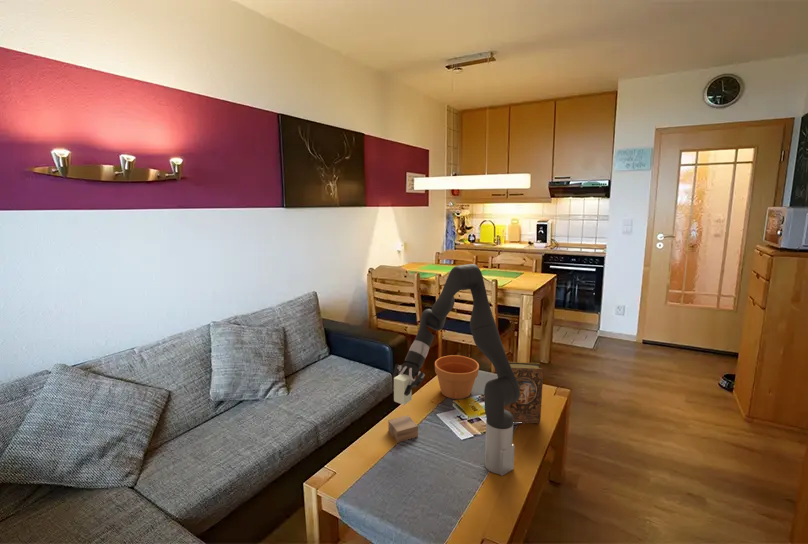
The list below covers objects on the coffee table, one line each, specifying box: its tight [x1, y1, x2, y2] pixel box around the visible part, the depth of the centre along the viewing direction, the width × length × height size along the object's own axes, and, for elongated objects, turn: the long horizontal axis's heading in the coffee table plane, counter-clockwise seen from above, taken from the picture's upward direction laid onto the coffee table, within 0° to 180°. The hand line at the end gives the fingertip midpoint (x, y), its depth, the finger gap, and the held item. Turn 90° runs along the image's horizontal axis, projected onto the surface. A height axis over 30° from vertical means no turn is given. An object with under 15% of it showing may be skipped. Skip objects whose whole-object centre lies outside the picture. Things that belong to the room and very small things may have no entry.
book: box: [504, 361, 544, 425], centre depth 173 cm, size 16×6×25 cm, turn 84°
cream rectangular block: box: [393, 374, 413, 406], centre depth 162 cm, size 5×5×10 cm
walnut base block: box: [387, 414, 419, 444], centre depth 166 cm, size 9×9×5 cm
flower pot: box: [434, 354, 480, 400], centre depth 198 cm, size 21×21×15 cm
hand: (399, 392), depth 161 cm, fingers closed on cream rectangular block, 5 cm apart
